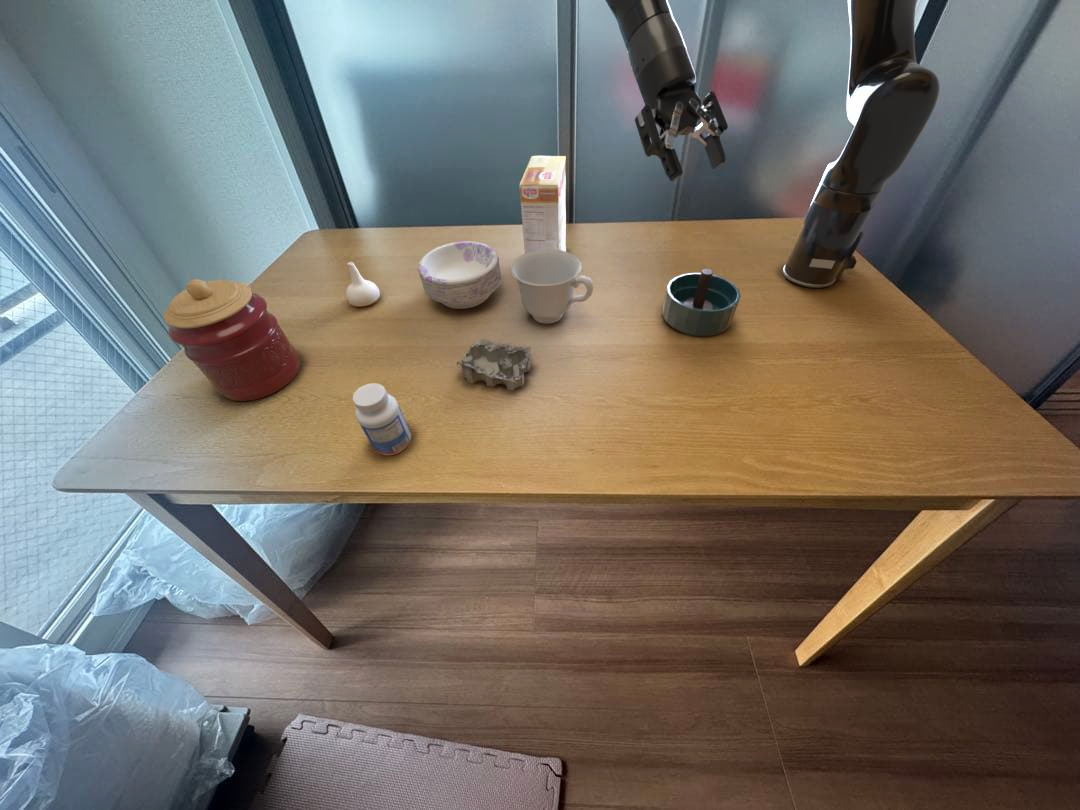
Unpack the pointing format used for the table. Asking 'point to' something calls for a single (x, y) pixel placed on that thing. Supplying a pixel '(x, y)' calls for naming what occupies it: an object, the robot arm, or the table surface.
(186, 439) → the table surface
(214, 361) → the kitchen canister
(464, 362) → the egg carton
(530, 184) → the coffeecake box
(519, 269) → the teacup
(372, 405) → the pill bottle
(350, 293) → the garlic bulb
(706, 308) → the coffee tamper
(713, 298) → the bowl
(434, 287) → the paper bowls
